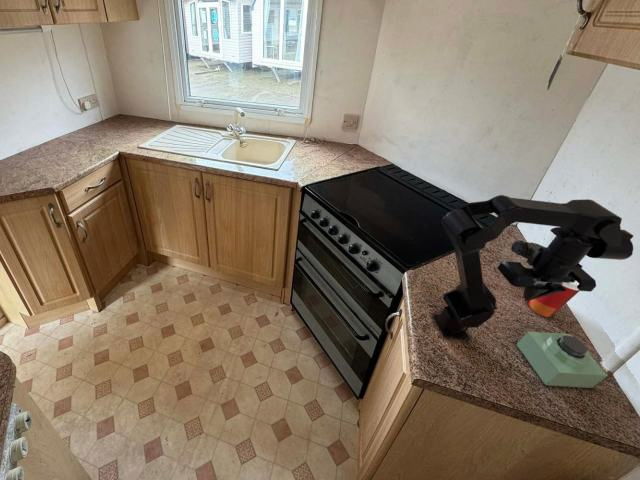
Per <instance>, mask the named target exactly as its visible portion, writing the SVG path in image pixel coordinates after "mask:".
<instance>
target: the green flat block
mask: <svg viewBox="0 0 640 480" xmlns="http://www.w3.org/2000/svg"><path fill="white" fill-rule="evenodd" d="M565 335H568V336H572V337H574V336H573V335H572V334H571V333H559V332H558V333H556V332H542V331H541V332H539V331H527V332H526V333H525V334H524V336H522V338H521V339H519V341H517V343H516V344H515V345H516V346H517V347H518V349H519V350H520V352H521V353H522V354H523V356H524V357H525V359H526V360H527V362H528V363H529V364H530V366H531V367H532V369H533V370H534V371H535V373H536V374H537V375H538V376H539V378H540V380H541V381H542V383H543V384H544V385H545V386H552V387H570V388H586V389H587V388H588V389H589V388H590V389H592V388H594V387H595V386H597V385H598V384H599V383H601V381H603V380H605V379H606V378H607V377H608V376H609V375H608V374H607V372H606V371H605V370H604V369H603V368H602V367H601V366H600V364H599V363H598V362H597V361H595V359H594V358H593V357H592V356H591V354H590V352H589V351H588V350H587V353H585V354H584V355H583V356H582V357H581V358H575V357H572V356H570V355H568V354H567V353H566V352H564V351H563V350H562V349H561V348H560V347H559V345H558V341H559V340H560V339H561V338H562V337H563V336H565Z"/></svg>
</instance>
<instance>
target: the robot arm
mask: <svg viewBox="0 0 640 480" xmlns="http://www.w3.org/2000/svg"><path fill="white" fill-rule="evenodd" d="M488 214H489V215H490V214H494V215H496V218H495V219H494V220H493V221H492V222H491V224H490V225H489V226H486V227H483V226H482V225H481V224H480V223H479V221H477V220H476V218H474V216H477V215H479V216H480V215H488ZM622 220H623V218H622V217H620V216H619V215H617V214H615V213H614V212H612V211H611V210H609V209H607V208H606V207H605V206H603V205H601V204H599V203H598V202H597V201H595V200H593V199H587V198H586V199H570V200H569V201H567V202H566V203H565V202H564V203H560V202H551V201H543V200H535V199H534V200H533V199H526V198H518V197H517V198H516V197H510V196H508V195H504V194H499V195H496V196H494V197H492V198H490V199H488V200H482V201H474V202H468V203H465V204H462V205H461V206H459V207H457V208H455V209H452V210H451V211H449V212H447V213H446V215H445V216H443V217H442V218H441V226H442V228H443V230H444V232H445V234H446V235H447V237H448V239H449V240H450V242H451V244H452V246H453V249H454V254H455V258H456V266H457V272H458V277H459V282H460V283H459V284H457V285H456V287H455V289H452V290H449V291H447V292H445V293H443V294H442V299H443V301H444V302H445V304H446V305H447V306H444V307H443V309H442V310H441V312H440V314H434V315H433V319H434V321H435V323H436V324H437V326H438V328H439V330H440V332H441V334H442V335H443V338H451V339H452V338H453V339H454V338H455V339H469V335H468V333H467V331H468V330H469V328H479V327H480V326H481V325H483V324H484V323H486V322H487V321H489V320H490V319H491V318H492V317H493V315H494V314H495V311H496V310H498V307H497V305H496V304H497V299H496V297H495V295H494V294H493V293H492V291H491V290H490V288H489V287H488V286H487V285H486V283H485V282H484V278H483V277H484V276H483V271H482V261H481V255H480V252H481V251H482V250H483V249H484V248H486V245H487V243H490V242H492V241H495V240H497V239H498V238H499V237H500V235H501V234H502V233H503V232H504V230H506V228H507V227H508V226H511V225H513V224H515V223H522V224H530V225H539V226H547V227H549V226H550V227H553V228H551V229H550V232H551V233H552V234H553V235H555V236H554V238H553V239H552V240H551V241H550V243H549V245H548V246H547V247H546V246H544V245H541V244H539V243H536V242H530V241H529V242H528V241H524V240H519V239H517V240H514V242H513V243H512V244H511V248H510V250H511V252H512V253H514V254H515V255H517V256H520V257H523V258H524V259H527V260H526V263H527V264H528V265H529V266H532V268H531V267H525V266H524V265H523V264H522V263H521V262H519V261H507V260H505V261H504V260H503V261H500V263H499V264H498V266H497V267H496V268H497V270H498V271H499V272H500V274H501V275H502V276H503V277H504V278H505V280H507V282H508V283H509V284H510V285H511V286H513V287H515V288H524V289H523V299H524V300H525V301H527V302H528V301H529V302H530V300H533V299H537V298H540V297H544V296H547V295H551V294H555V293H559V292H565V291H566V289H565V288H564V287H563V286H562V284H563V283H562V282H565V283H569V282H572V283H574V282H575V281H577V282H578V283H579V284H578V286H577V288H578V289H579V290H580V291H579V292H590V293H591V292H592V291H593V290H595V288H597V281H596V280H595V278H593V277H592V276H591V275H590V274H589V273H587V271H585V270H584V269H583V265H582V264H581V263H580V262H581V261H583V260H584V258H586V256H587V257H588V258H591V259H600V260H601V259H602V260H615V261H616V260H617V261H618V260H619V261H623V260H626V259H629V258H631V257H632V256H633V252H634V244H633V242H632V239H633V238H634V234H632V233H630V232H629V231H628V230H626V229H622V228H621V224H622Z"/></svg>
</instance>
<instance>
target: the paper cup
mask: <svg viewBox="0 0 640 480" xmlns="http://www.w3.org/2000/svg"><path fill="white" fill-rule="evenodd" d="M562 283H563V284H562V286H563V287H564V288H565V289H566V291H565V292H559V293H555V294H551V295H547V296H544V297H540V298H537V299H533V300H530V301H529V302H528V306H529V307H530V309H531V310H532V311H534V313H536V314H538V315H540V316H542V317H545V318H549V317H552V316H554V314H556V313H557V312H558V311H559V310H560V309H561V308H563V306H565V305H566V304H567V303H568V302H569V301H570V300H571V299H573V298H574V297H575V296H576V295H577V294H579V292H581V291H580V290H579V289H578V288H577V286H578V284H579V283H578V282H577V281H575V282H574V283H572V282H569V283H565V282H562Z"/></svg>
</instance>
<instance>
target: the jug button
mask: <svg viewBox="0 0 640 480" xmlns="http://www.w3.org/2000/svg"><path fill="white" fill-rule="evenodd" d="M572 336H573V335H572ZM572 336H568V335H565V336H563V337H562V338H561V339H560V340H559V341H558V345H559V347H560V348H561V349H562V350H563V351H564V352H566V353H567V354H568V355H570V356H572V357H575V358H581V357H582V356H583V355H584V354H585V353H587V351H588V348H587V346H586V345H585V344H584V343H583V342H582V341H581V340H579V339H578V338H576V337H574V336H573V337H572Z"/></svg>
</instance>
